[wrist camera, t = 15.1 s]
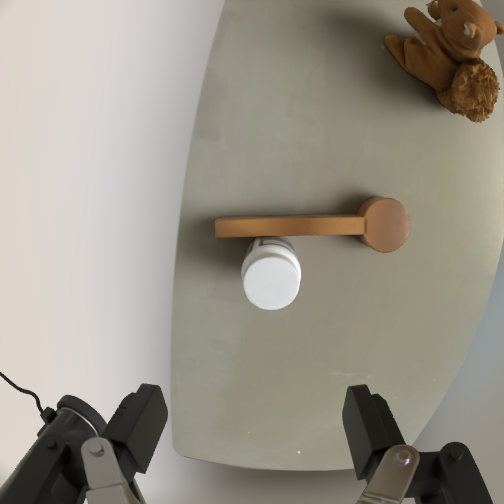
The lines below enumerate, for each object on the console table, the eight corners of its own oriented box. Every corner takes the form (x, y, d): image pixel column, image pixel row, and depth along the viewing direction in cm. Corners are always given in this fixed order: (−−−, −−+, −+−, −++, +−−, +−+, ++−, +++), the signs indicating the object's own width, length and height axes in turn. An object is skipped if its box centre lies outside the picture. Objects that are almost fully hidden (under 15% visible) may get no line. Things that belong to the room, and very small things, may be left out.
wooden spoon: (221, 251, 27) (216, 257, 25) (218, 199, 26) (213, 200, 24) (398, 246, 26) (408, 252, 24) (400, 197, 25) (410, 198, 22)
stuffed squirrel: (431, 25, 19) (482, -19, 6) (479, 121, 21) (552, 108, 9) (373, 28, 20) (418, -36, 7) (428, 136, 23) (511, 117, 10)
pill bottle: (263, 287, 28) (260, 326, 20) (237, 248, 27) (223, 275, 19) (303, 263, 27) (316, 295, 19) (278, 223, 26) (282, 239, 18)
